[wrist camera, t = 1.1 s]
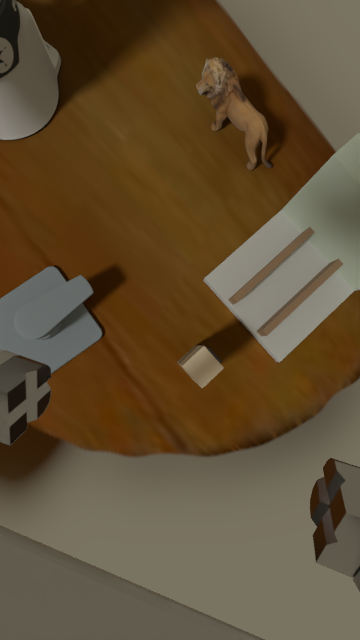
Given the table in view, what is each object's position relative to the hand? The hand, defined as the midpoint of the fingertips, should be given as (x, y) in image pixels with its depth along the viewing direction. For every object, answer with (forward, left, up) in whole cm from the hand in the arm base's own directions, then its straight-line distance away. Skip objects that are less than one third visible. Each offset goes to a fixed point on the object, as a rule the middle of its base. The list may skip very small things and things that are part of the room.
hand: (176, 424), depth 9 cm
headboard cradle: (+4, +23, -37) cm, 43 cm away
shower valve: (-14, -7, -38) cm, 41 cm away
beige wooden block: (+4, +4, -37) cm, 37 cm away
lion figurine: (-18, +31, -37) cm, 51 cm away
